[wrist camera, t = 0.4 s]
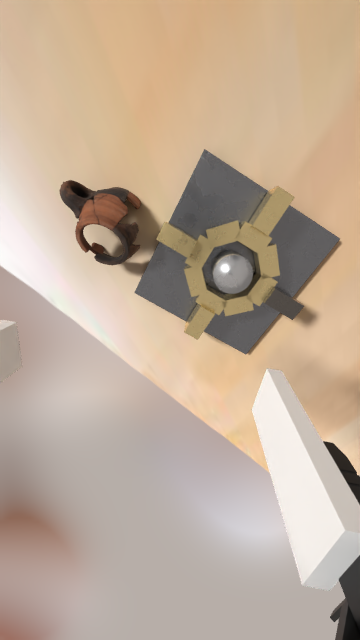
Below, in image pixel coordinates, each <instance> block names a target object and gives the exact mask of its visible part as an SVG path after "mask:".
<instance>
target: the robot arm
mask: <svg viewBox="0 0 360 640" xmlns="http://www.w3.org/2000/svg"><path fill="white" fill-rule="evenodd" d="M21 367H22V359H21V352H20V344H19V337H18V329H17V323H16V322H11V321H6V320H1V321H0V383H1V382H3V381H4V380H5V379H6V378H8V377H9V376H11V375H12V374H13V373H15V372H16V371H17V370H18V369H20V368H21ZM252 412H253V415H254V419H255V422H256V426H257V429H258V433H259V436H260V440H261V443H262V447H263V450H264V454H265V457H266V461H267V464H268V468H269V471H270V475H271V478H272V482H273V485H274V488H275V492H276V496H277V499H278V502H279V506H280V510H281V513H282V517H283V520H284V524H285V527H286V530H287V534H288V538H289V541H290V545H291V548H292V551H293V555H294V559H295V562H296V565H297V569H298V572H299V576H300V580H301V583H302V585H303V586H308V587H313V588H318V589H323V590H328V591H330V590H331V589H332V588H333V586H334V585H335V584H336V583H337V582H338V581H339V582H340V584H341V587H342V589H343V592H344V594H345V597H346V598H345V599H344V601H342V603H340V604H339V605H338V606H337V608H336V609H335V610H334V611H333V613H332V614H331V616H330V618H331V619H332V620H333V621H334V622H335V621H336V620H337V619H338V618H339V617H340V618H339V623H338V628H337V633H336V639H335V640H360V477H359V475H357V472H356V470H355V469H354V467H353V466H352V464H351V463H350V461H349V460H348V458H347V457H346V456H345V455H344V454H343V453H342V452H341V451H340V450H339V449H338V448H337V447H336V446H335V445H334V444H333V443H329V442H324V441H322V439H321V437H320V436H319V434H318V432H317V431H316V429H315V427H314V425H313V424H312V422H311V420H310V419H309V417H308V415H307V413H306V412H305V410H304V408H303V406H302V405H301V403H300V401H299V400H298V398H297V396H296V394H295V393H294V391H293V389H292V388H291V386H290V384H289V382H288V381H287V379H286V377H285V375H284V374H283V372H282V371H280V370H274V369H269V368H267V369H266V372H265V375H264V377H263V380H262V383H261V386H260V388H259V391H258V394H257V397H256V399H255V402H254V405H253V408H252Z"/></svg>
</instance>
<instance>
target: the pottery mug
mask: <svg viewBox="0 0 360 640" xmlns="http://www.w3.org/2000/svg"><path fill="white" fill-rule="evenodd" d="M60 195H61V198H62V200H63V202H64V203H65V204H66V205H67V206H68V207H69V208H70V209H71V210H72V211H73V212H74V214H75V216H76V218H79V222H77V226H76V231H75V232H76V239H77V241H78V243H79V245H80V247H81V248H82V249H83V250H84V251H85V252H88V251H89V250H90V251H92V252H93V253H94V254H96V256H95V257H94V258H95V259H96V261H98V262H100V263H103V264H107V265H117V264H121V263H123V262H124V261H125V260H126V259H128V258H130V257H131V256H132V255H133V254H134V253H135V252H136V251H137V250H138V249H139V248H140V245H134V244H132V243H133V242H134V241H135V239H136V236H137V233H138V231H139V229H138V225H137V223H133V224H132V225H129V224H119V222H120V221H121V220H122V218H123V217H124V216H125V215H127V213H128V208H127V206H126V205H125V204H124V203H125V200H126V199H127V200H128V201H129V202H130V203H131V204H132V205H133V206H134V207H135V208H136V209H139V207H140V204H141V202H140V200H139V199H138V198H137V197H136V196H135V195H134V194H132V193H131V192H129V191H128V190H126V189H123V188H118V187H114V188H110V189H103V190H98V191H97V192H96V191H92V190H90V189H88V188H86V187H85V186H83V185H82V184H80V183H78V182H75V181H72V180H69V181H66V182H63V184H62V185H61V189H60ZM90 224H98V225H102V226H104V227H107V228H108V229H110V230H112V231H113V232H114V233H115V234H116V235H117V236H118V237H119V238H120V240H121V242H122V244H123V247H124V252H123V254H122V255H121V256H119V257H111V256H109V255H107V254H105V253H104V250H103V247H102V246H101V245H99V244H97V243H93V244H92V247H91V246H90V245H89V244H88V242H87V241H86V239H85V237H84V235H83V229H84V227H85V226H87V225H90Z"/></svg>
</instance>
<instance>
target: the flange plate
mask: <svg viewBox="0 0 360 640" xmlns="http://www.w3.org/2000/svg"><path fill="white" fill-rule="evenodd" d="M267 192H268V191H267V190H266V189H264V188H263V187H261V186H260V185H258V184H257V183H255V182H253V181H252V180H250V179H249V178H247V177H246V176H244V175H243V174H241V173H240V172H238V171H237V170H235V169H234V168H232V167H231V166H229V165H228V164H226V163H225V162H223V161H222V160H220V159H219V158H217V157H216V156H214V155H213V154H211V153H210V152H208V151H207V150H205V149H204V151H203V153H202V155H201V158H200V160H199V162H198V164H197V166H196V168H195V170H194V172H193V174H192V176H191V178H190V180H189V182H188V184H187V186H186V188H185V190H184V192H183V194H182V196H181V199H180V201H179V203H178V205H177V207H176V209H175V211H174V213H173V215H172V217H171V219H170V221H169V223H171V224H172V225H174V226H176V227H177V228H179V229H181V230H182V231H184V232H186V233H187V234H189V235H191V236H192V237H194V238H195V239H197V240H198V238H199V236H200V234H201V235H203V236H205V237H206V238H208V237H207V233H206V230H207V229H210V228H213V227H217V226H220V225H223V224H227V223H230V222H233V221H237V220H238V222H239V225H240V224H241V222H244V221H246V222H247V223H249V221H250V219H251V218H252V216H253V215H254V213H255V211H256V210H257V208H258V207H259V205H260V203H261V202H262V200H263V199H264V197H265V196H266V194H267ZM269 236H270V237H271V238H272V240H271V241H270V243H273V244H276V247H277V255H278V263H279V271H280V275H279V276H275V277H272V278H273V279H275V280H276V281H277V282H278V283H277V284H276V285H275V287H276V288H278V289H280V290H281V291H283V292H285V293H286V294H288V295H290V296H291V297H293V296H294V295H295V294H296V292H297V291H298V290H299V289H300V287H301V286H302V285H303V284H304V283H305V281H306V280H307V279H308V278H309V276H310V275H311V274H312V273H313V272H314V270H315V269H316V268H317V267H318V265H319V264H320V263H321V262H322V260H323V259H324V258H325V257H326V256H327V254H328V253H329V252H330V251H331V249H332V248H333V247H334V246H335V245H336V243H337V242H338V241H339V240H340V238H338V237H337V236H335V235H334V234H332V233H331V232H329V231H328V230H326V229H325V228H323V227H322V226H320V225H319V224H317V223H316V222H314V221H313V220H311V219H310V218H308V217H307V216H305V215H303V214H302V213H300V212H299V211H297V210H296V209H294V208H293V207H291V206H290V205H289V206H288V208H287V209H286V211H285V212H284V214H283V215H282V217H281V218H280V220H279V221H278V223H277V224H276V226H275V227H274V228H273V230H272V231H271V233H270V234H269ZM186 259H187V257H185V256H183V255H182V254H180V253H178V252H177V251H175V250H173V249H172V248H170V247H168V246H166V245H165V244H163V243H161V242H159V244H158V246H157V248H156V250H155V252H154V254H153V256H152V258H151V260H150V262H149V264H148V266H147V268H146V270H145V272H144V274H143V276H142V278H141V280H140V282H139V285H138V287H137V289H136V291H135V293H136V294H138V295H140V296H141V297H143V298H145V299H147V300H149V301H150V302H152V303H154V304H156V305H158V306H159V307H161V308H163V309H165V310H167V311H168V312H170V313H172V314H174V315H176V316H177V317H179V318H181V319H183V320H185V321H187V320H188V318H189V316H190V315H191V313H192V312H193V310H194V308H195V307H196V305H197V304H198V303H196V302H195V300H196V296H194V297H191V293H190V290H189V286H188V282H187V279H186V275H185V271H184V268H185V266H187V265H188V264H186V263H185V261H186ZM202 269H203V273H204V277H205V281H206V285H208V286H209V287H211V288H213V289H214V290H216V291H218V292H220V293H221V294H223V295H225V294H235V293H239V292H241V291H243V290H245V289H246V288H247V287H248V286H249V284H250V283H251V281H252V278H253V276H254V275H255V273H256V266H255V260H254V254H253V251H252V250H250V249H249V248H247V247H246V246H244V245H242V244H241V243H239V242H238V241H235V242H232V243H228V244H225V245H221V246H218V247H214V248H213V250H212V252H211V253H210V255H209V257H208V258H207V260H206V262H205V263H204V265H203V267H202ZM252 303H253V302H252ZM253 309H254V310H252V311H247V312H243V313H238V314H234V315H229V316H225V313H224V309H223V311H222V312H221V314H220V315H218V314H216V313H215V315H214V317H213V318H212V320H211V321H210V323H209V324H208V325H207V327H206V328H205V330H204V332H206V333H208V334H210V335H212V336H214V337H215V338H217V339H219V340H221V341H223V342H224V343H226V344H228V345H230V346H232V347H233V348H235V349H237V350H239V351H241V352H242V353H244V354H247V353H248V351H249V350H250V349H251V348H252V346H253V345H254V344H255V343H256V342H257V340H258V339H259V338H260V337H261V335H262V334H263V333H264V332H265V330H266V329H267V328H268V327H269V326H270V324H271V323H272V322H273V321H274V319H275V318H276V317H277V316H278V315H279V313H280V312H278V311H276V310H275V309H273V308H271V307H270V306H268V305H266V304H265V303H264V302H262V304H261V305H260V306H258V305H256V304H254V303H253Z"/></svg>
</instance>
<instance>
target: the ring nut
mask: <svg viewBox="0 0 360 640" xmlns="http://www.w3.org/2000/svg"><path fill="white" fill-rule="evenodd" d="M294 198H295V197H294V196H292V195H291V194H289V193H288V192H286V191H285V190H283V189H282V188H280V187H279V186H277V187H275V188H273V189H271V190H269V191H268V192H267V194H266V196H265V197H264V199H263V200H262V202H261V203H260V205H259V207H258V208H257V210H256V211H255V213H254V215H253V216H252V218H251V219H250V221H249V223H247V222H246V221H244V222H241V224H240V225H239V222H238V220H237V221H233V222H230V223H227V224H223V225H220V226H217V227H213V228H210V229H207V230H206V233H207V237H208V238H206V237H205V236H203V235H201V234H200V236H199V238H198V240H197V239H195V238H194V237H192V236H191V235H189V234H187V233H186V232H184V231H182V230H181V229H179V228H177V227H176V226H174V225H172V224H171V223H169V222H164V224H163V226H162V228H161V231H160V233H159V235H158V237H157V239H156V240H158V241H160V242H161V243H163V244H165V245H166V246H168V247H170V248H172V249H173V250H175V251H177V252H178V253H180V254H182V255H183V256H185V257H187V259H186V261H185V263H186V264H188V265H187V266H185V268H184V271H185V275H186V279H187V282H188V286H189V290H190V293H191V297H194V296H196V300H195V302H196V303H198V304H197V305H196V307H195V308H194V310H193V312H192V313H191V315H190V316H189V318H188V320H187V321H186V325H185V331H184V332H185V333H187V334H188V335H190V336H192V337H194V338H196V339H199V337H200V336H201V334H202V333H203V331H204V330H205V328H206V327H207V325H208V324H209V323H210V321H211V320H212V318H213V317H214V315H215V313H216V314H218V315H220V314H221V312H222V311H223V309H224V313H225V316H229V315H234V314H238V313H243V312H247V311H252V310H254V309H253V303H254V304H256V305H258V306H260V305H261V304H262V302H264V303H265V304H266V305H268V306H270V307H271V308H273V309H275V310H276V311H278V312H280V313H281V314H283V315H285V316H287V317H288V318H290V319H292V320H293V319H294V318H295V316H296V315H297V314H298V313H299V312H300V311H301V309H302V308H303V307H304V306H303V305H302V304H301V303H300V302H298V301H297V300H296V299H294V298H293V297H291V296H290V295H288V294H286V293H285V292H283V291H281V290H280V289H278V288H276V287H275V285H276V284H277V283H278V282H277V281H276V280H275V279H273V278H272V277H275V276H279V275H280V271H279V263H278V255H277V247H276V244H273V243H270V241H271V240H272V238H271V237H270V236H269V234H270V233H271V231H272V230H273V228H274V227H275V226H276V224H277V223H278V221H279V220H280V218H281V217H282V215H283V214H284V212H285V211H286V209H287V208H288V206H289V205H290V203H291V202H292V201H293V199H294ZM235 241H238V242H239V243H241V244H242V245H244V246H246V247H247V248H249V249H250V250H252V251H253V254H254V260H255V266H256V273H255V275H254V276H253V278H252V281H251V283H250V284H249V286H248V287H247V288H246V289H245V290H243V291H241V292H239V293H235V294H225V295H223V294H221V293H220V292H218V291H216V290H214V289H213V288H211V287H209V286H208V285H206V281H205V277H204V273H203V269H202V267H203V265H204V263H205V262H206V260H207V258H208V257H209V255H210V253H211V252H212V250H213V248H214V247H218V246H221V245H225V244H228V243H232V242H235ZM252 302H253V303H252Z"/></svg>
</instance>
